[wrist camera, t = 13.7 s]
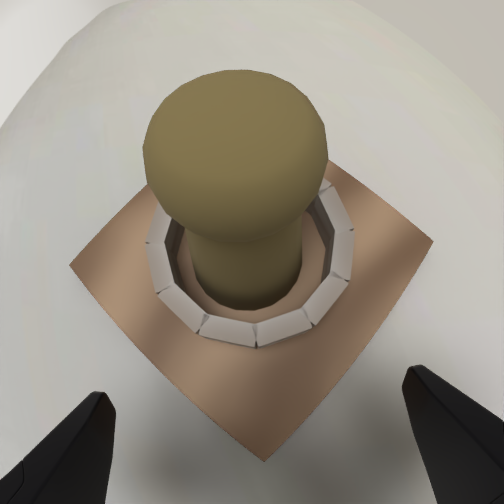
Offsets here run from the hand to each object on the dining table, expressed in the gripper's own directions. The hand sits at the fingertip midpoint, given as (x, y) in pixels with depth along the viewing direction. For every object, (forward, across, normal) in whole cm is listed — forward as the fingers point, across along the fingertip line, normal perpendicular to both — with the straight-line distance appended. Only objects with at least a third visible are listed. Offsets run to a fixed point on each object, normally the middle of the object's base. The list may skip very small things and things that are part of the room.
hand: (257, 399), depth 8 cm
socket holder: (+11, 0, +1) cm, 11 cm away
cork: (+10, 0, +1) cm, 10 cm away
